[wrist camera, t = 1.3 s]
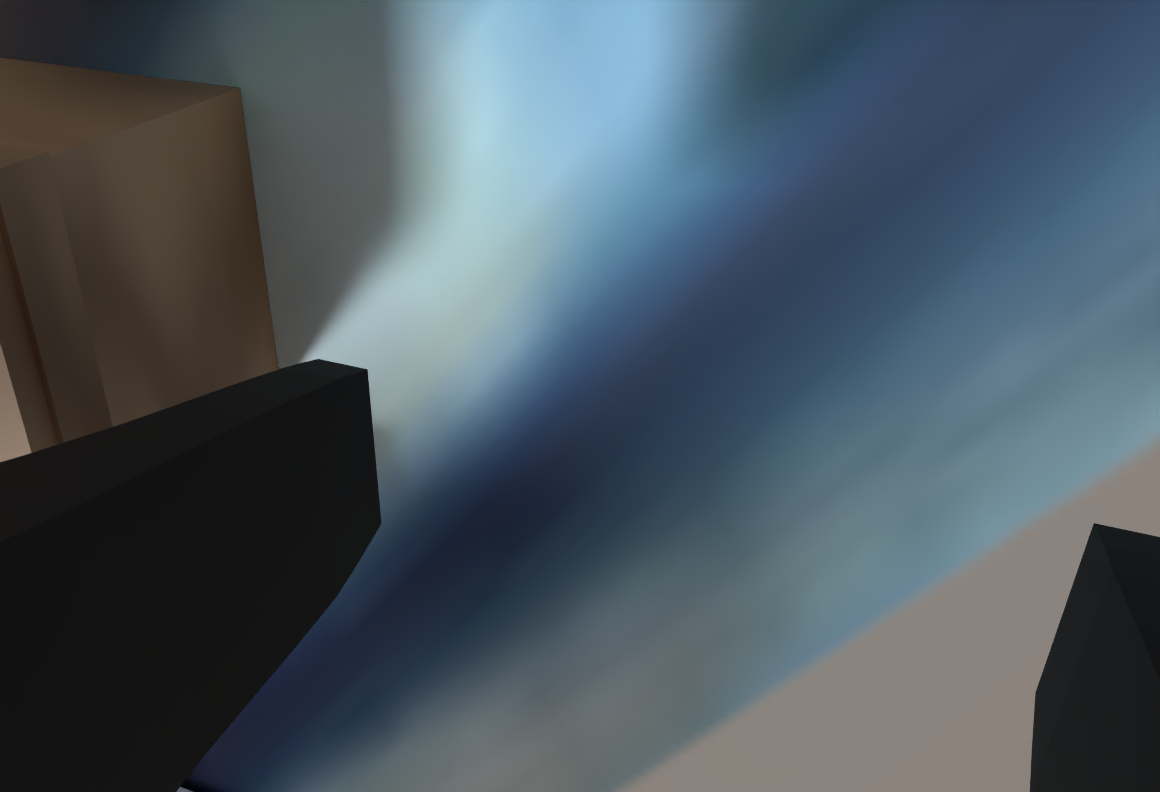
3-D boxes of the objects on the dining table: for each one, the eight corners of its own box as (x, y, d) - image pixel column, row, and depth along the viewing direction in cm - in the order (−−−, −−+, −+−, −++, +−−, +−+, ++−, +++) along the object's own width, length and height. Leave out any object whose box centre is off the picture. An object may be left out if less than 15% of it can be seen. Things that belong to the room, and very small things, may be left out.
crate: (288, 391, 18) (70, 568, 13) (46, 338, 19) (-218, 482, 15) (248, 80, 15) (-39, 182, 11) (-30, 45, 16) (-374, 124, 12)
